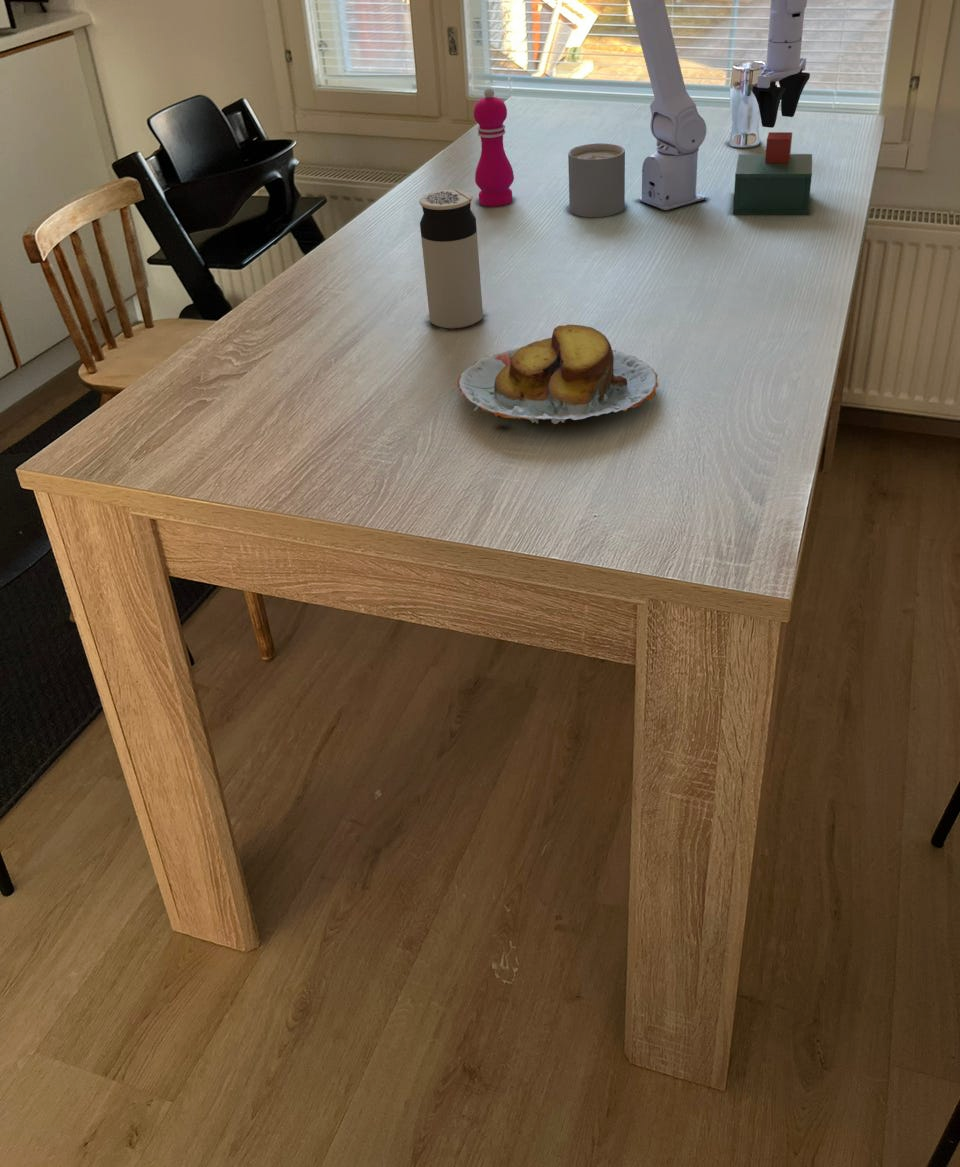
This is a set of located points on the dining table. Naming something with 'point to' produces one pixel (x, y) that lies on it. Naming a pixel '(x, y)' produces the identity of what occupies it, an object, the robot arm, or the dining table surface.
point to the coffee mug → (596, 180)
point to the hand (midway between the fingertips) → (778, 121)
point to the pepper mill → (492, 152)
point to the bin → (771, 196)
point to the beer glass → (744, 104)
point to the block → (778, 147)
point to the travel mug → (451, 259)
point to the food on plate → (559, 378)
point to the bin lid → (773, 167)
